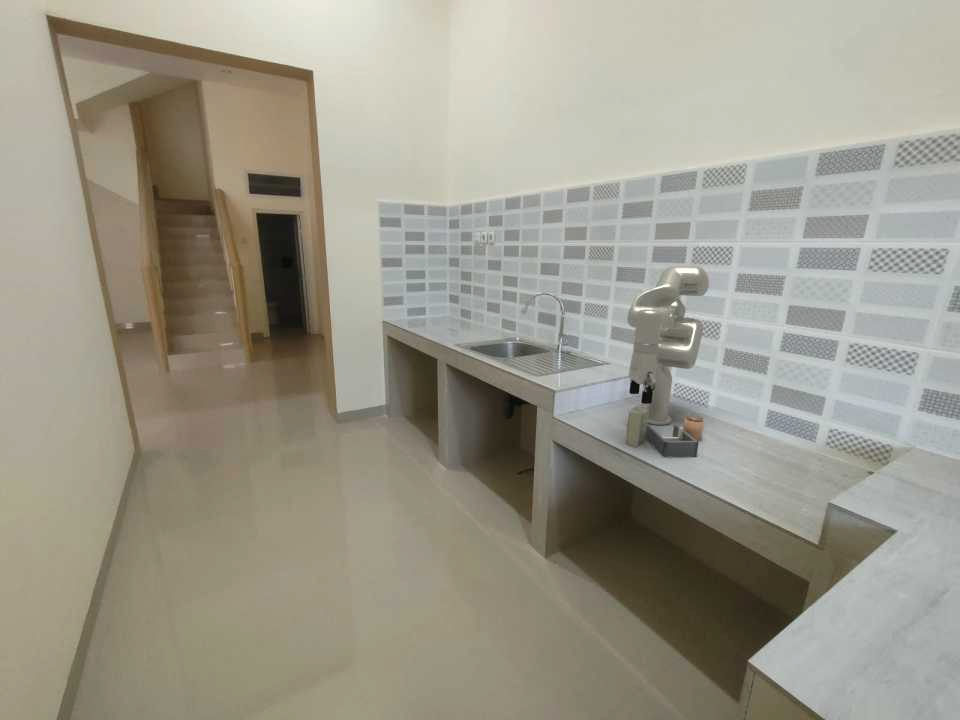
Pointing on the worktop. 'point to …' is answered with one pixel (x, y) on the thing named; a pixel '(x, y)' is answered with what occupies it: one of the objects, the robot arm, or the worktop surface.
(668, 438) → the bar
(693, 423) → the jar
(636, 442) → the skincare box
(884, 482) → the worktop surface
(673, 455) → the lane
